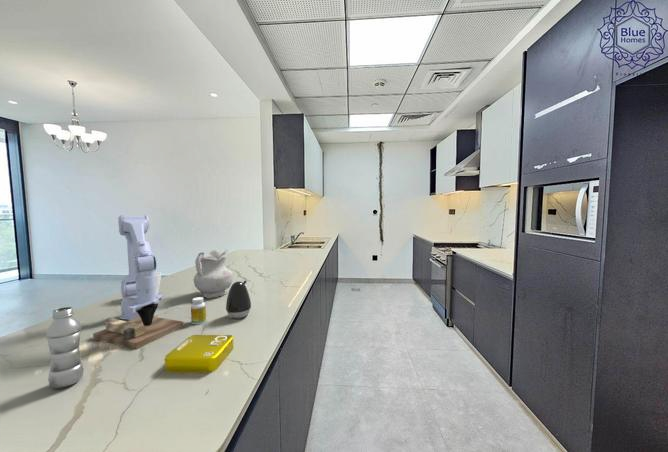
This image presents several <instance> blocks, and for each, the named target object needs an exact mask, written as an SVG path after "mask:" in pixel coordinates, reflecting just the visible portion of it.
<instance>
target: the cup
mask: <svg viewBox="0 0 668 452" xmlns="http://www.w3.org/2000/svg"><path fill="white" fill-rule="evenodd" d="M162 274H163V273H162V272H160V271H158V272H157V271H156V272H155V290H156V295H158V294H159V290H160V284H161V279H162Z"/></svg>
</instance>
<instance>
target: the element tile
mask: <svg viewBox="0 0 668 452" xmlns="http://www.w3.org/2000/svg"><path fill="white" fill-rule="evenodd" d="M233 350H234V336H233V335H230V334H192V335H190V336H188V337H187V338H186V339H185V340H183V341H182V342H181V343H180V344H178V345H177V346H175V348H174V349H172V350H171V351H170V352H169V353H167V354H166V355H165V356H164V371H165V372H166V373H187V374H188V373H197V374H199V373H200V374H201V373H204V374H208V373H209V374H210V373H212V372H215V371H217V369H219V367H220V366H221V365H222V364H223V362H224V361H225V360H226V359H227V358H228V357H229V355H230V354H231V352H232V351H233Z"/></svg>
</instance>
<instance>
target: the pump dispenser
mask: <svg viewBox="0 0 668 452" xmlns="http://www.w3.org/2000/svg"><path fill="white" fill-rule="evenodd" d="M246 284H247V280H243V282H242V281H234V282H232V283H231V285H230V287H229V290H228V292H227V296H226V302H225V303H226V304H225V311H226V313H227V315H228V316H229V317H230V318H231V319H235V320H237V319H238V320H239V319H243V318H245V317H246V316H247V315H248V314H249V313H250V311H251V308H252V301H251V297H250V293H249V290H248V288H247V286H246Z"/></svg>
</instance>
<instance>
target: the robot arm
mask: <svg viewBox="0 0 668 452" xmlns="http://www.w3.org/2000/svg"><path fill="white" fill-rule="evenodd" d="M149 229H150V218H149V216H148V215H147V214H143V215H141V214H140V215H139V214H138V215H122V214H121V215H119V216H118V232H119V235H120V236H124V237H125V240H126V246H127V249H126V250H127V263H128V274H127V275H125V276H124V277H123V278H122V279H121V281H120V282H121V283H120V285H121V286H120V292H121V293H120V294H121V297H122V300H121V302H120V312H121V313H120V314H121V316H119V319H122V320H126V321H129V320H131V319H134V318H137V317H141V319H142V322H143V324H144V326H149V325H151V324H152V320H153V317H155V313H156V311H157V309H158V307H159V303H158V302H159V301H163V300H164V294H163V293H161V294H160V293H158V295H156V290H155V271H157V259H156V255H155V254H154V253H153V252H152V248H151V245H150V244H151V243H149V242H148V241H146V235H145V234H147V232H148V230H149Z"/></svg>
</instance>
